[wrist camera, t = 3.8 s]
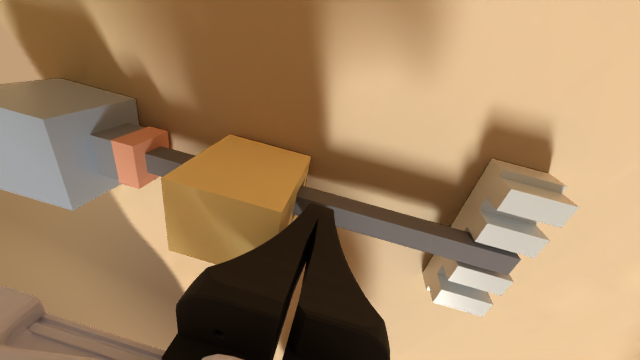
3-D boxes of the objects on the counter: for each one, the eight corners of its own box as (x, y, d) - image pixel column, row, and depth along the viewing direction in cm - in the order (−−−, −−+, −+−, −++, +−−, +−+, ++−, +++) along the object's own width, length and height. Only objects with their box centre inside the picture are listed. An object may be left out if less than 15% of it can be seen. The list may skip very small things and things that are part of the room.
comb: (465, 285, 18) (479, 321, 15) (422, 273, 18) (430, 306, 16) (549, 173, 13) (586, 199, 11) (491, 158, 13) (516, 181, 11)
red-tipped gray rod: (510, 226, 14) (537, 260, 12) (486, 258, 16) (506, 295, 13) (129, 120, 15) (87, 133, 13) (135, 159, 17) (98, 176, 14)
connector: (167, 176, 18) (101, 219, 13) (79, 151, 18) (-13, 185, 14) (160, 105, 15) (76, 129, 11) (59, 78, 16) (-61, 90, 11)
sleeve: (299, 210, 17) (269, 280, 12) (227, 190, 17) (168, 250, 12) (311, 156, 15) (281, 212, 10) (229, 134, 15) (161, 177, 10)
